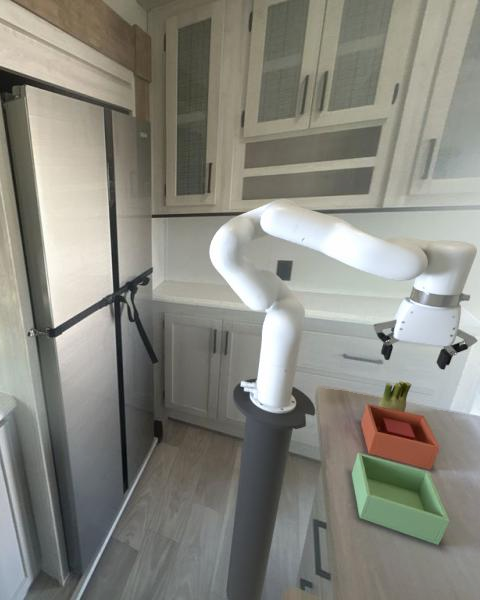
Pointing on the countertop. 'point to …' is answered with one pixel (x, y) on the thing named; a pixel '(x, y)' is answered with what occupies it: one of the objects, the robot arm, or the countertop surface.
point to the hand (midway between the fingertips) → (412, 361)
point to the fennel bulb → (395, 396)
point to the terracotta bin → (396, 447)
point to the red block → (396, 429)
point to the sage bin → (399, 498)
